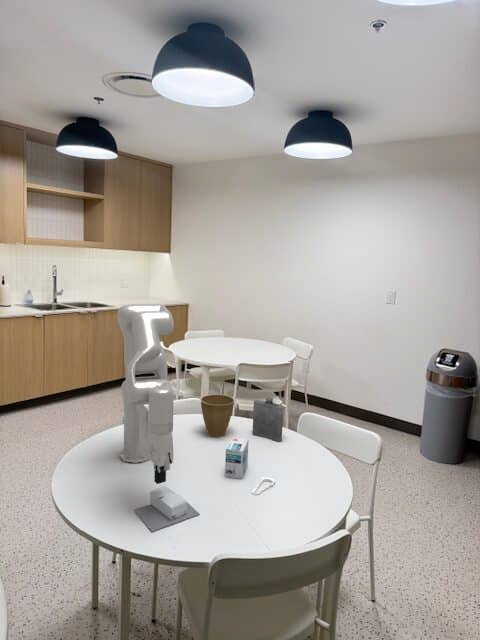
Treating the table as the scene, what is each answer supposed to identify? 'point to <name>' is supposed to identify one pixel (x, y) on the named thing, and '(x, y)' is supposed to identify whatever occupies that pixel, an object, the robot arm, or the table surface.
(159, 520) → the mat
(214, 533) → the table surface
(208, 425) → the plant pot
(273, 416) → the flask
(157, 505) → the skincare box
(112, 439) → the table surface
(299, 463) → the table surface
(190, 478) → the table surface
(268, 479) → the stepped key frame
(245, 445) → the light bulb box
